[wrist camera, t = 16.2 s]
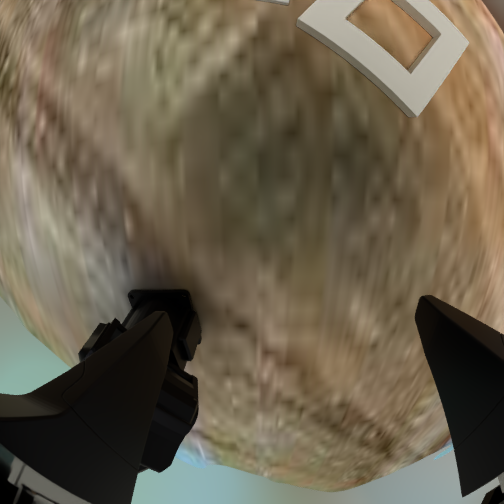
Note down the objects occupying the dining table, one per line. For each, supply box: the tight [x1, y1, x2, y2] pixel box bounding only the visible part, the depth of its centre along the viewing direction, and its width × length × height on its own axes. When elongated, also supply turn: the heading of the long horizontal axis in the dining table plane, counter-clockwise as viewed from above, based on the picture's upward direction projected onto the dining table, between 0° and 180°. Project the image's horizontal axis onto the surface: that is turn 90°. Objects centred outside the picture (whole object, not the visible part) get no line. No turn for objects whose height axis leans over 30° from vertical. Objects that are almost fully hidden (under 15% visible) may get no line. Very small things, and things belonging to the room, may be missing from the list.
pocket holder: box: [296, 0, 469, 117], centre depth 12 cm, size 11×11×2 cm
